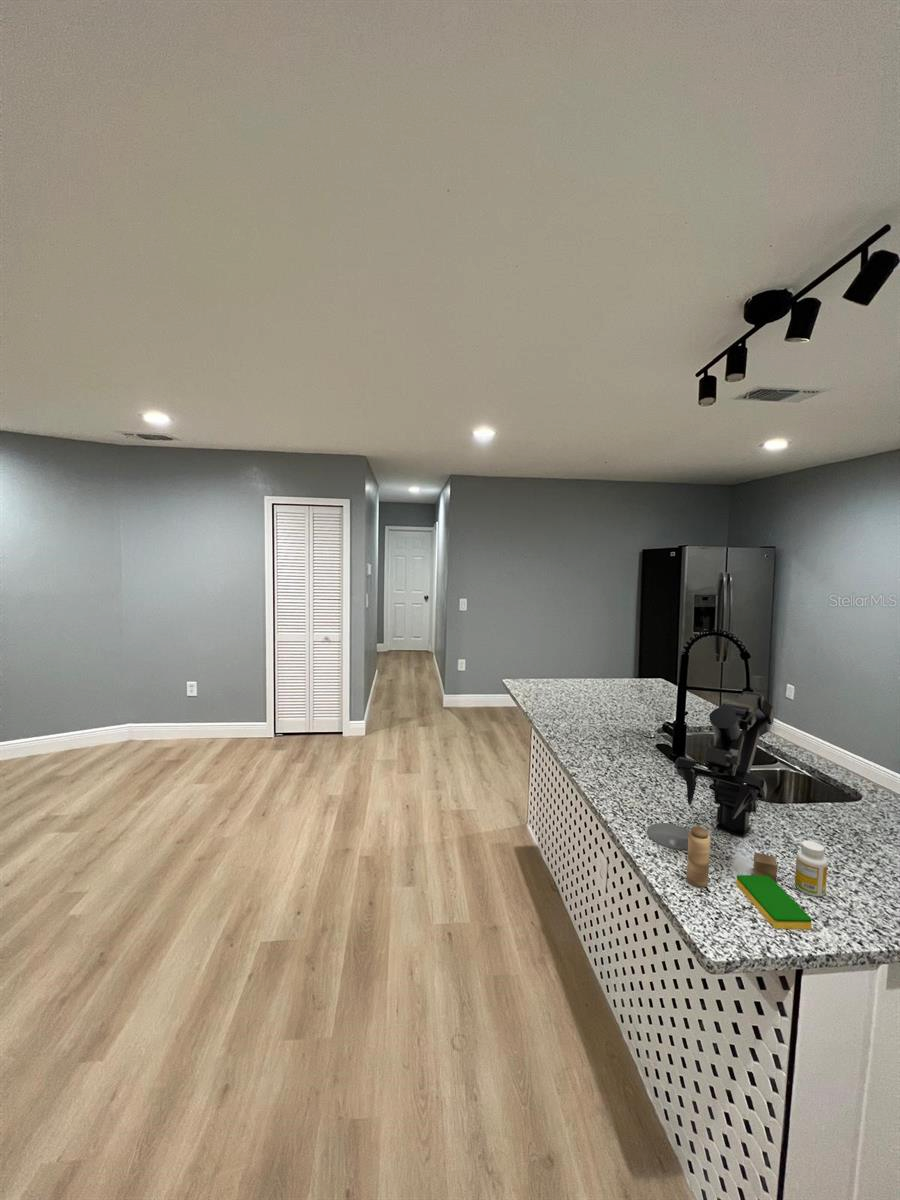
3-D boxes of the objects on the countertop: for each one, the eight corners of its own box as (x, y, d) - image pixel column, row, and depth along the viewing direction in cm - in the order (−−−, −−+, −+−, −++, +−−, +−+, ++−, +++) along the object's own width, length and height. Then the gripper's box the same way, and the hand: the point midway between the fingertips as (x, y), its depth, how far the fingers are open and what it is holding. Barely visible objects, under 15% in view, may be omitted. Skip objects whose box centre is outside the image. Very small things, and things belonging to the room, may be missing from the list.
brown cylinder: (710, 881, 113) (713, 830, 112) (703, 890, 110) (706, 837, 109) (691, 873, 116) (693, 823, 115) (683, 881, 113) (685, 830, 112)
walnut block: (774, 874, 116) (775, 856, 116) (776, 883, 113) (777, 866, 112) (753, 869, 118) (754, 852, 118) (754, 878, 114) (755, 861, 114)
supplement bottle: (812, 881, 114) (816, 838, 113) (831, 897, 108) (835, 852, 107) (788, 881, 113) (791, 838, 113) (806, 897, 108) (809, 852, 107)
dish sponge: (768, 885, 112) (769, 875, 112) (812, 931, 99) (813, 919, 98) (735, 885, 112) (735, 874, 112) (774, 930, 99) (775, 918, 98)
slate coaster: (706, 837, 131) (706, 836, 131) (686, 855, 123) (686, 854, 123) (659, 819, 140) (659, 818, 140) (638, 835, 131) (638, 834, 131)
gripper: (679, 723, 126) (660, 782, 119) (767, 742, 114) (753, 808, 106) (688, 747, 133) (670, 803, 125) (772, 767, 120) (759, 831, 113)
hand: (710, 810), depth 117 cm, fingers open, 9 cm apart
